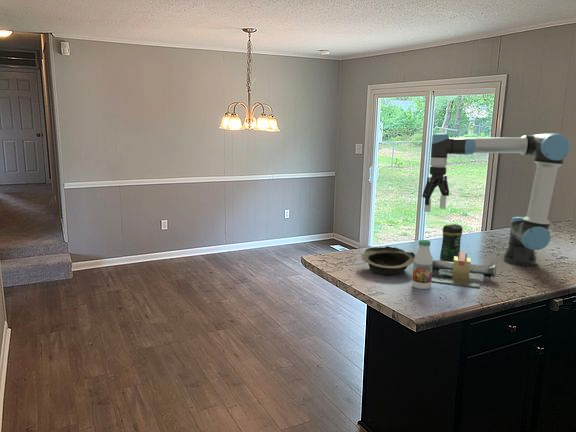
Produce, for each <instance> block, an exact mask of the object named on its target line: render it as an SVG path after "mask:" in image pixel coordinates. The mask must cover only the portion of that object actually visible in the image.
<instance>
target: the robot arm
mask: <svg viewBox="0 0 576 432" xmlns="http://www.w3.org/2000/svg"><path fill="white" fill-rule="evenodd" d="M430 146H431V147H430V158H429V160H430V163H429V165H430V167H429V174H430V175H431V176H427V179H426V184H425V186H424V190H423V193H422V195H421V196H422V198H424V208H423V209H424V212H428V213H430V212H431V207H432V198H431V197H432V195H433V193H434V191H435V189H436V188H437V187H438V190H439V191H440V194H441V195H440V197H439V209H443V210H446V205H447V197H448V196H449V195H450V188H449V183H448V176H447V165H448V155H465V156H466V155H467V156H468V155H473V154H521V155H522V156H531V157H534V159H533V160H534V161H533V162H534V163H535V164H536V169H535V173H534V179H533V182H532V183H533V184H532V189H531V192H530V198H529V204H528V209H527V213H526V215H525V216H513V217H512V218H511V221H510V228H509V229H510V230H509V238H508V246H507V247H506V250H505V251H504V254H503V257H502V258H503V259H502V260H503V261H504V262H506V263H508V264H511V265H512V264H513V265H519V266H535V265H536V264H537V256H536V251H540V250H543V249H544V248H546V247H547V246H548V245H549V244H550V243H551V238H552V237H551V233H550V229H549V228H550V226H551V225H550V224H551V222H550V220H548V216H549V211H550V206H551V201H552V199H553V198H552V196H553V193H554V188H555V183H556V179H557V178H556V177H557V173H558V169H559V168H560V167H561V166H563V163H564V159H565V158H566V157H567V156H568V155H569V153H570V150H571V143H570V141H569V139H568V137H566V136H565V135H563V134H560V133H558V132H557V133H556V132H554V133H553V132H552V133H550V132H549V133H548V132H545V133H544V132H543V133H537V134H526V135H522V136H521V137H520V136H519V137H518V136H517V137H506V136H505V137H498V136H497V137H459V136H457V137H455V136H454V137H450V134H449V133H433V134H432V137H431V145H430Z"/></svg>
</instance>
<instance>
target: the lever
mask: <svg viewBox="0 0 576 432" xmlns="http://www.w3.org/2000/svg"><path fill="white" fill-rule="evenodd" d="M467 256H468V253H467V252H463V251H462V252H461V251H460V252H459V253H458V259H459V264H458V265H459V266H464V265H465V260H466V259H467V258H468V257H467Z"/></svg>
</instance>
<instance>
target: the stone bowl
mask: <svg viewBox="0 0 576 432" xmlns="http://www.w3.org/2000/svg"><path fill="white" fill-rule="evenodd" d="M415 255H416V254H415V253H414V252H412V251H411V252H410V251H406V250H404V249H402V248H399V247H395V246H394V247H392V246H389V245H386V246H384V247H383V246H378V247H377V246H376V247H368V248H366V249H365V251H364V252H363V253H361V259H362V261H364V262H365V264H367V265H368V267H369V270H371V272H373V273H374V274H378V275H384V276H389V275H395V274H398V273H401V272H403V271H406V270H407V268H408V267H409V266H410V265H412V264H414V258H415Z"/></svg>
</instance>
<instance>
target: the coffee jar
mask: <svg viewBox="0 0 576 432" xmlns="http://www.w3.org/2000/svg"><path fill="white" fill-rule="evenodd" d="M462 234H463V226H462V225H461V224H460V225H459V224H456V223H454V224H445V225H444V226H443V228H442V242H441V248H440V249H441V250H440V254H439V255H440V256H439V259H440V261H448V262H454V256H458V253H459V252H461V239H462Z"/></svg>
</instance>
